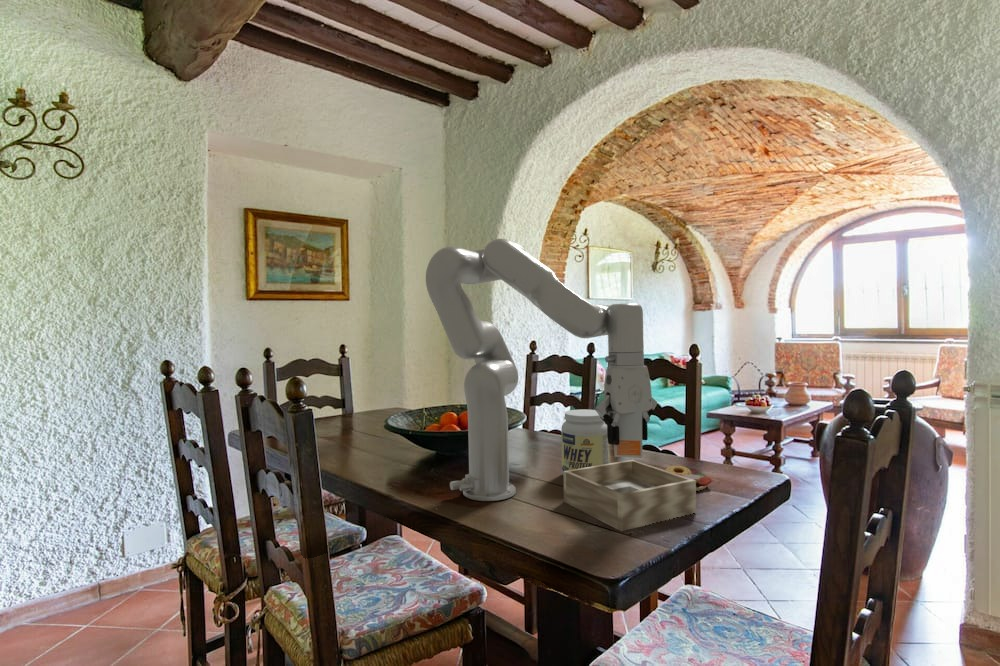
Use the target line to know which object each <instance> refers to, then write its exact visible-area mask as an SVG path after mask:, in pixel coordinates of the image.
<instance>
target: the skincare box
mask: <svg viewBox="0 0 1000 666" xmlns="http://www.w3.org/2000/svg"><path fill="white" fill-rule="evenodd" d="M616 426H619V445H614V444H613V453H614V458H635V459H636V458H637V459H642V458H643V440H642V403H641V402H638V403H637V405H636V412H635V413H632V414H623V415H620V417H619V420H618V422H617V425H616Z"/></svg>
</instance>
